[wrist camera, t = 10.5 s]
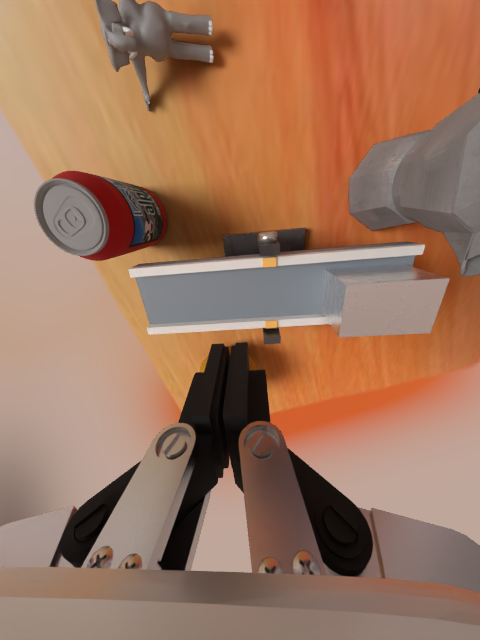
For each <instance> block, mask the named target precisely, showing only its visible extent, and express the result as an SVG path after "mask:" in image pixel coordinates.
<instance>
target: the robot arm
mask: <svg viewBox="0 0 480 640" xmlns="http://www.w3.org/2000/svg"><path fill="white" fill-rule="evenodd" d="M229 456H230V460H231V465H232V468H233V473H234V478H235V483H236V484H237V486H238V487H239V488H240V489H241V491H242V492H243V493H244V499H245V509H246V518H247V528H248V537H249V546H250V555H251V564H252V573H241V572H210V571H209V572H208V571H191V567H192V563H193V559H194V556H195V552H196V548H197V544H198V541H199V537H200V533H201V529H202V525H203V521H204V517H205V514H206V510H207V506H208V502H209V499H210V492H211V489H212V488H213V487H214V486H215V485H216V484H217V483H218V478H222V477H223V469H224V468H228V466H229ZM0 640H480V545H478V544H477V543H475V542H474V541H473V540H471V539H470V538H469V537H467V536H466V535H464V534H461V533H459V532H457V531H454V530H452V529H448V528H445V527H441V526H437V525H434V524H430V523H426V522H422V521H419V520H415V519H411V518H407V517H404V516H400V515H396V514H392V513H389V512H385V511H382V510H378V509H374V508H371V511H369V510H366V509H362V508H358V507H356V505H355V504H354V503H353V502H352V501H350V500H349V499H348V498H347V497H346V496H344V495H343V494H342V493H341V492H340V491H338V490H337V489H336V488H335V487H334V486H332V485H331V484H330V483H329V482H328V481H326V480H325V479H324V478H323V477H322V476H320V475H319V474H318V473H317V472H316V471H315V470H313V469H312V468H311V467H309V465H307V464H306V463H305V462H304V461H303V460H301V459H300V458H299V457H298V456H297V455H295V454H294V453H293V452H292V451H291V450H289V449H288V448H287V446H286V443H285V439H284V436H283V435H282V433H281V431H280V430H279V429H278V428H277V427H276V426H275V425H273V424H272V423H270V414H269V403H268V393H267V383H266V373H265V370H250V365H249V353H248V343H247V342H245V343H236V346H232V347H231V354H230V353H229V347H228V346H227V347H225V346H224V344H212V346H211V349H210V353H209V356H208V360H207V363H206V367H205V371H204V372H199V373H195V375H194V377H193V380H192V383H191V386H190V389H189V392H188V395H187V398H186V401H185V404H184V407H183V410H182V413H181V416H180V419H179V423H175V424H172V425H169V426H167V427H166V428H164V429H163V430H161V432H159V433H158V434H157V436H156V437H155V438H154V440H153V441H152V443H151V445H150V447H149V449H148V450H147V452H146V454H145V456H144V457H143V459H142V461H140V462H139V463H137V464H136V465H135V466H133V467H132V468H131V469H130V470H128V471H127V472H125V473H124V474H123V475H121V476H120V477H119V478H118V479H116V480H115V481H113V482H112V483H111V484H109V485H108V486H107V487H105V488H104V489H103V490H101V491H100V492H99V493H97V494H96V495H95V496H93V497H92V498H91V499H89V500H88V501H87V502H86V503H85V504H84V505H82V506H81V507H80V508H75V507H74V506H71V507H67V508H64V509H60V510H56V511H52V512H49V513H45V514H41V515H38V516H34V517H30V518H26V519H23V520H19V521H15V522H11V523H8V524H5V525H3V526H1V527H0Z"/></svg>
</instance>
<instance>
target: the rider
mask: <svg viewBox="0 0 480 640" xmlns="http://www.w3.org/2000/svg"><path fill="white" fill-rule="evenodd" d="M449 279H450V278H448V277H444V276H441V275H438V274H435V273H432V272H429V271H425V270H422V269H419V268H416V267H413V266H410V265H406V264H391V265H376V266H362V267H347V268H332V269H325V270H324V281H323V292H322V302H321V313H322V315H323V316H324V318H325V319H326V320H327V322H328V323H329V324H330V326H331V327H332V328H333V330H334V331H335V333H336V334H337V335H338V337H357V336H378V335H399V334H420V333H431V330H432V327H433V324H434V321H435V319H436V316H437V313H438V310H439V307H440V305H441V302H442V299H443V296H444V293H445V291H446V288H447V285H448V282H449Z"/></svg>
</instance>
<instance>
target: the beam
mask: <svg viewBox="0 0 480 640" xmlns="http://www.w3.org/2000/svg"><path fill="white" fill-rule="evenodd" d="M424 248H425V245H424V244H418V243H413V242H396V243H384V244H372V245H360V246H348V247H337V248H325V249H313V250H301V251H289V252H280V254H278V255H266V256H260V254H253V255H241V256H229V257H217V258H205V259H193V260H181V261H169V262H157V263H145V264H138V265H136V266H134V267H132V268H129V269H128V270H129V274H130V277H131V278H132V277H135V278H136V281H137V284H138V287H139V291H140V294H141V297H142V301H143V304H144V307H145V310H146V314H147V317H148V320H149V323H150V325H149V326H148V327H147V331H148V334H149V335H150V334H167V333H184V332H201V331H218V330H235V329H252V328H277V327H287V326H304V325H321V324H329V323H328V322H327V320H326V319H325V318H324V316H323V315H322V313H321V302H322V292H323V281H324V270H325V269H332V268H347V267H362V266H376V265H391V264H406V265H410V266H413V263H414V259H415V255H423V251H424Z"/></svg>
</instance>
